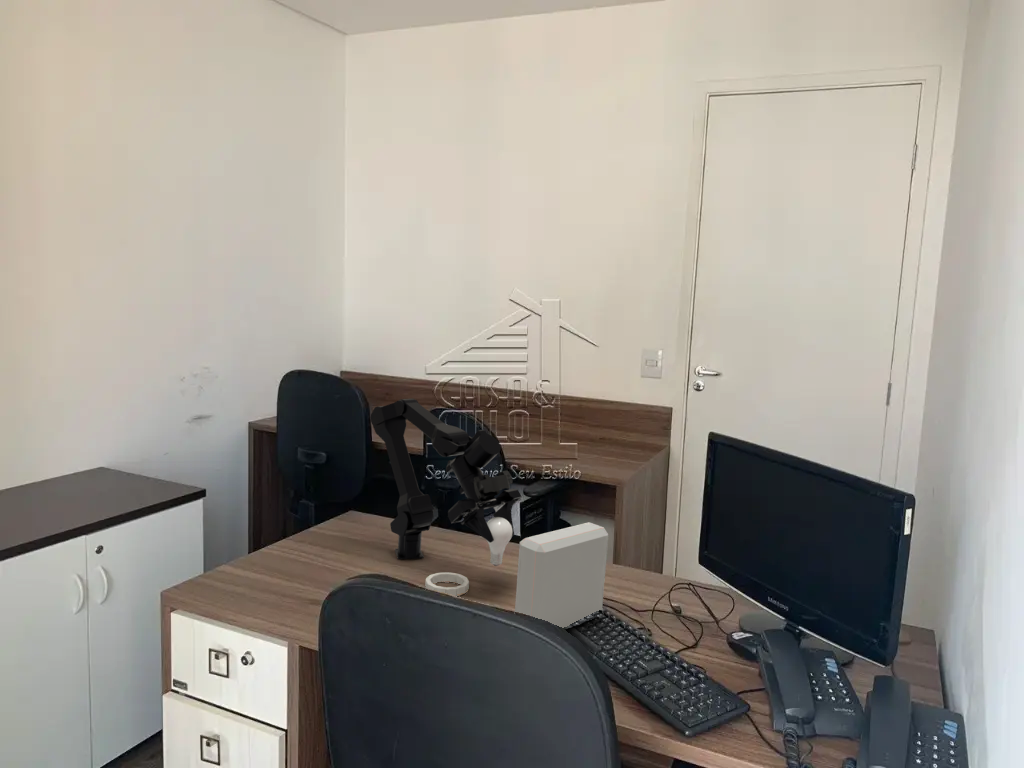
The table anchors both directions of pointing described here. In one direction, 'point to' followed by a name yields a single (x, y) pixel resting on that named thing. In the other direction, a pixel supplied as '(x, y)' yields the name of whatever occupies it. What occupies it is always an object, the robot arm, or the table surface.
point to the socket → (448, 577)
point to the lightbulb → (499, 538)
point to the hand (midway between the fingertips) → (502, 538)
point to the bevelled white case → (562, 574)
